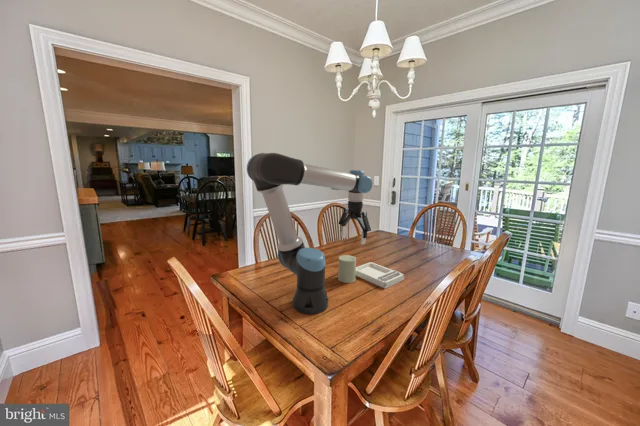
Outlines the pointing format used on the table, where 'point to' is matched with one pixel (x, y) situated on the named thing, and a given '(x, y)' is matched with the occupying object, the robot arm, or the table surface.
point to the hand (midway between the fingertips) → (353, 240)
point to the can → (347, 268)
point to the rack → (379, 274)
